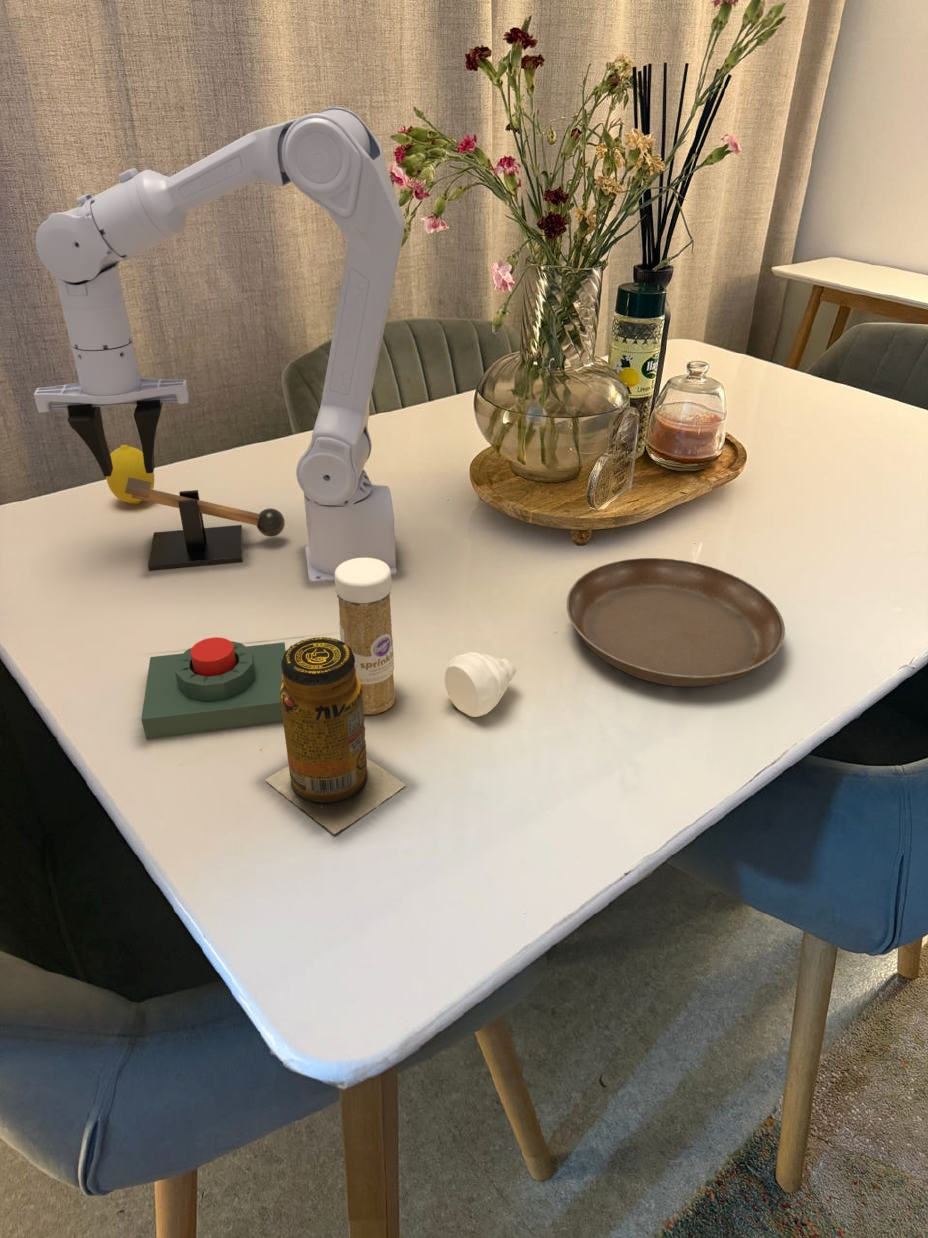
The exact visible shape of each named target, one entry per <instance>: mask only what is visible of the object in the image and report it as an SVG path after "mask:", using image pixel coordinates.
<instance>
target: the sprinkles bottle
mask: <svg viewBox="0 0 928 1238" xmlns="http://www.w3.org/2000/svg"><path fill="white" fill-rule="evenodd" d="M392 582H393V581H392V575H391V570H390V568H389V566H388V565H387V564H386V563H385V562H383V561H381V560H378V559H374V558H355V559H351V560H348V561H345V562H343V563H342V564H340V565H339V566H338V567H337V568H336V570H335V581H334V589H335V590H334V591H335V593H336V597H337V598H338V612H339V614H338V615H339V624H338V625H339V638H340V641H342V642H344V643H345V644H347V645H348V646H349V647H350V648H351V650H352V652H353V654H354V656H355V663H354V664H355V668H356V675H357V677H358V678H359V680H360V683H361V685H362V691H363V693H362V697H363V709H364V712H363V714H364V715H377V714H380V713H382V712H386V711H387V710H389V709H390V708H391V707H392V706H393V705H394V703H395V701H396V698H397V697H396V696H397V694H396V690H395V681H394V670H395V660H394V657H395V656H394V640H393V630H392V629H393V627H392V626H393V625H392V624H393V623H392V612H391V611H392V610H391V593H392V588H393V586H392V585H393V583H392Z"/></svg>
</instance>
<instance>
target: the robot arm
mask: <svg viewBox="0 0 928 1238" xmlns="http://www.w3.org/2000/svg"><path fill="white" fill-rule="evenodd" d="M118 178H119V180H120V182H118V183H117V184H115V185H113V186H111V187H110V188H107V189H106V190H104V191H102V192H100V193H97V194H96V195H94V196H92V195H91V193H86V194H83V195H81V196H79V197H77V198H76V203H77V205H78V206H77V207H74V208H71V209H69V210H66V211H59V212H53V213H50V214H49V216H48V218H47V219H46V220H44V221H43V222H42V223H41V224H40V225H39V226H38V229H37V231H36V234H35V249H36V253H37V255H38V258H39V260H40V261H41V263H42V265H43V266H44V267H45V268H46V270H47V271H48V272H49V273H51V275H53V276H54V278H55V282H56V287H57V291H58V296H59V301H60V304H61V305H60V306H61V309H62V314H63V317H64V322H65V326H66V331H67V335H68V339H69V344H70V347H71V352H72V356H73V359H74V362H75V363H74V364H75V369H76V372H77V377H78V382H73V383H67V384H61V385H54V386H53V385H52V386H46V387H37V388H36V389H35V391H34V393H33V397H34V398H33V399H34V402H35V406H36V409H37V412H38V413H39V414H41V413H42V414H43V413H49V412H51V411H52V410H67V412H68V413H67V415H68V417H67V422H68V424H69V426H70V427H71V428H72V429H73V431H74V432H76V434H77V435H78V436H79V437H80V438H81V439H82V441H83V442H84V444H85V445H86V446H87V447H88V449H89V451H90V452H91V453H92V455H93V456H94V457H93V458H95V461H96V462H97V464H98V466H99V468H100V470H101V472H102V475H103V477H105V478H106V477H107V476H111V474H112V470H113V466H112V460H111V456H110V454H111V453H110V449H109V446H108V443H107V439H106V435H105V429H104V422H103V417H102V409H101V407H116V406H117V407H118V406H135V405H136V407H135V408H134V412H133V419H134V422H135V425H136V428H137V433H138V437H139V440H140V444H141V450H142V452H143V459H144V466H145V470H146V473H153V472H154V471H155V467H156V465H155V439H156V433H157V427H158V423H159V420H160V417H161V413H162V408H163V405H164V404H166V403H176V404H178V405H183V404H184V405H185V404H189V401H190V394H189V388H188V382H187V379H161V378H145V377H140V372H139V367H138V361H137V356H136V351H135V346H134V340H133V336H132V332H131V326H130V320H129V315H128V310H127V306H126V301H125V295H124V291H123V286H122V281H121V276H120V271H119V265H120V263H121V262H125V261H128V260H130V259H132V258H134V257H136V256H138V255H141V254H142V253H145V252H147V251H149V250H151V249H152V248H154V247H155V248H156V247H157V246H159V245H160V244H163V243H165V242H167V241H169V240H171V239H174V238H176V237H177V236H180V235H182V233H183V232H184V231H185V230H184V229H185V226H186V222H187V218H188V214H189V212H191V211H192V210H195V209H197V208H199V207H201V206H203V205H206V204H208V203H211V202H212V201H214V200H217V199H219V198H221V197H223V196H225V195H228V194H229V193H233V192H234V191H236V190H239V189H241V188H243V187H246V186H247V185H250V184H252V183H254V182H264V183H267V184H269V185H273V186H277V187H285V186H287V185H288V184H289V183H292V184H293V185H294V186H295V187H296V189H297V190H299V191H300V192H301V193H302V194H303V196H306V197H307V198H309V199H310V200H311V201H312V202H314V204H316V205H318V206H319V207H321V208H322V209H323V210H325V211H326V212H327V213H328V215H329V216H330V218H331V219H332V220H333V222H334V223H335V224H336V225H337V227H338V228H339V230H340V231H341V232H342V234H343V236H344V237H345V238H346V240H347V250H346V255H345V262H344V266H343V274H342V277H341V278H342V279H341V285H340V291H339V295H338V301H337V302H338V303H337V308H336V314H335V320H334V326H333V331H332V337H331V344H330V349H329V355H328V361H327V366H326V371H325V372H326V373H325V377H324V384H323V390H322V394H321V395H322V396H321V400H320V401H321V402H320V406H319V410H318V413H317V417H316V419H315V424H314V426H313V427H314V428H313V429H312V434H311V440H310V444H309V446H308V447H307V449H306V451H304V453H303V454H302V455H301V457H300V459H299V460H298V462H297V464H296V471H295V472H296V480H297V483H298V486H299V488H300V489H301V491H302V492H303V499H304V509H305V510H304V511H305V517H306V518H305V519H306V529H307V541H308V545H306V546H305V547H304V550H305V557H306V566H307V574H308V581H309V582H310V583H312V584H314V583H316V584H317V583H326V582H335V570H336V568H337V567H338V566H339V565H340V564H342V563H343V562H345V561H348V560H351V559H355V558H374V559H378V560H381V561H383V562H385V563H386V564H387V565H388V566H389V568H390V570H391V576H394V575H396V574H397V573H398V570H397V561H396V560H397V559H396V549H397V541H396V540H397V539H396V534H395V533H396V532H395V515H394V505H393V499H392V493H391V490H390V489H391V488H390V487H389V485H380V484H379V485H377V484H373V483H372V481H371V480H370V477H369V476H368V474H367V472H366V471H365V469H364V468H365V465H366V463H367V462H368V460H369V458H370V456H371V453H372V444H373V443H372V438H371V435H370V433H369V427H368V426H369V418H370V413H371V411H370V402H371V397H372V392H373V388H374V382H375V378H376V377H375V376H376V372H377V368H378V363H379V357H380V353H381V348H382V345H383V338H384V334H385V329H386V324H387V319H388V314H389V309H390V304H391V298H392V294H393V289H394V284H395V279H396V275H397V270H398V264H399V259H400V254H401V250H402V245H403V239H404V234H405V218H404V215H403V211H402V208H401V206H400V203H399V200H398V197H397V195H396V194H397V193H396V191H395V187H394V186H393V182H392V179H391V177H390V173H389V170H388V167H387V164H386V159H385V154H384V148H383V145H382V144H381V143H380V142H379V140H378V139H377V137H376V136H375V135H374V133H373V132H372V131H371V130H370V128H369V127H368V125H367V124H366V123H365V122H364V120H363V119H362V118H361V117H360V116H359V115H358V114H357V113H355V112H354V111H352V110H350V109H348V108H346V107H341V106H332V107H327V108H324V109H322V110H320V111H318V112H315V113H308V114H305V115H303V116H301V117H298V118H295V119H291V120H287V121H284V122H280V123H276V124H273V125H270V126H266V127H263V128H260V129H257V130H253V131H251V132H248V133H247V134H245V135H243V136H241V137H240V138H238V139H235V140H234V141H233V142H231V143H229V144H227V145H226V146H224V147H222V148H220V149H218V150H216V151H214V152H213V153H211V154H209V155H207V156H206V157H204V158H202V159H200V160H198V161H196V162H195V163H193V164H191V165H189V166H187V167H186V168H183V169H182V170H180V171H178V172H177V173H175V174H173V175H171V176H168V175H164V174H162V173H159V172H157V171H156V170H151V169H144V170H143V171H141V172H139V171H138V169H137V168H136V167H133V168H129V169H127V170H125V171H123V172H121V173H119V174H118ZM154 473H155V472H154Z"/></svg>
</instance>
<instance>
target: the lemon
mask: <svg viewBox="0 0 928 1238" xmlns="http://www.w3.org/2000/svg"><path fill="white" fill-rule="evenodd" d="M110 456H111V460H112V466H113V470H112V474H111V476H107V477H105V478H106V482H107V485H108V488H109V490H110V492H111V493H112V494H113V495H114V497H116V498H117V499H119V500H120V501H122V502H124V503H127V504H128V503H129V504H131V505H134V506H138V505H140V504H141V503H142V501H144V500H140V499H135V498H132V495H131V494H127V493H125V490H126V486H127V482H128V478H129V477H130V478H135V479H139V480H144V481H148V482H151V488H150V489H152V490H154V487H155V472H153V473H146V470H145V466H144V459H143V450H142V451H141V450H140V449H138V448H137V447H134V446H130V445H127V444H121V445H120V446H119V447H118V448H116V449H114V450H113V451H112V452H111V453H110Z"/></svg>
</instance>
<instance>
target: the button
mask: <svg viewBox="0 0 928 1238" xmlns="http://www.w3.org/2000/svg"><path fill="white" fill-rule="evenodd" d="M231 641H232V640H230V639H227V638H226V637H225V638H224V637H217V636H215V637H208V638H204V639H201V640H200V641H197V642H196V643H194V644H193V646H192V647H190V648H191V651H190V654H191V659H192V664H193V669H194V671H195V673H196V674H198V675H201V676H206V677H208V676H217V675H222V674H224V673H226V672H229V671H231V670H233V669H234V667H235V665H236V658H235V652H234V646H233V644H232V642H231Z"/></svg>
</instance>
